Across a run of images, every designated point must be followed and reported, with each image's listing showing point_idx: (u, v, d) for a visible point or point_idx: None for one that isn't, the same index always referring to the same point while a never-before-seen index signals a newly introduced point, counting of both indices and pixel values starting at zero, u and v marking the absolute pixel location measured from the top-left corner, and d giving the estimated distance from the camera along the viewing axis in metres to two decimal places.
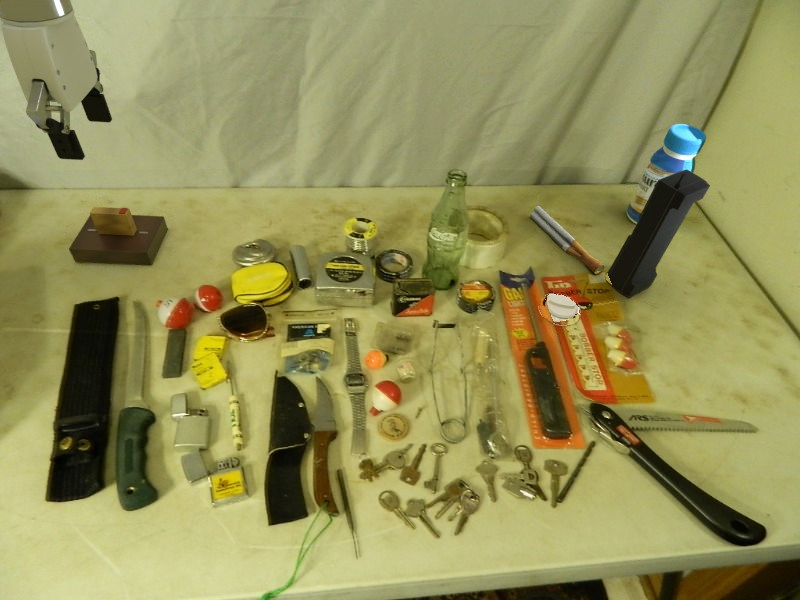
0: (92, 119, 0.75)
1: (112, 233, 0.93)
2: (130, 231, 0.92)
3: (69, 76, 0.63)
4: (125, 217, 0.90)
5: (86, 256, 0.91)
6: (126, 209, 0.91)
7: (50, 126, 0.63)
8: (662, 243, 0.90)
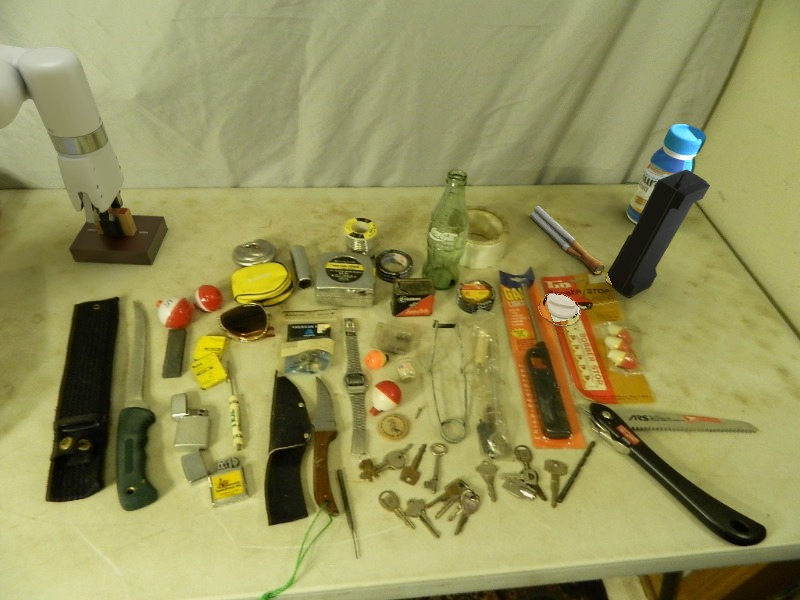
0: None
1: None
2: (130, 231, 0.92)
3: (105, 187, 0.84)
4: (125, 217, 0.90)
5: (86, 256, 0.91)
6: (126, 209, 0.91)
7: (103, 219, 0.87)
8: (662, 243, 0.90)
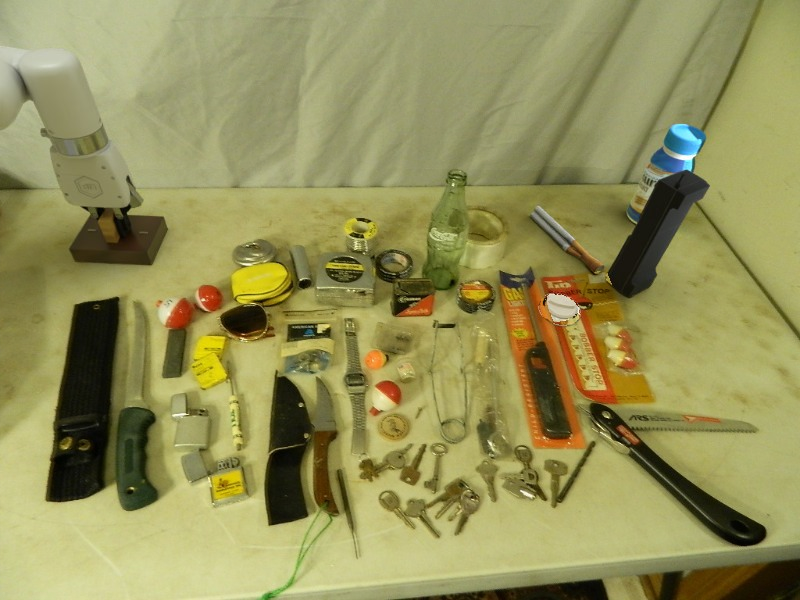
0: None
1: None
2: None
3: None
4: None
5: (86, 256, 0.91)
6: None
7: None
8: (662, 243, 0.90)
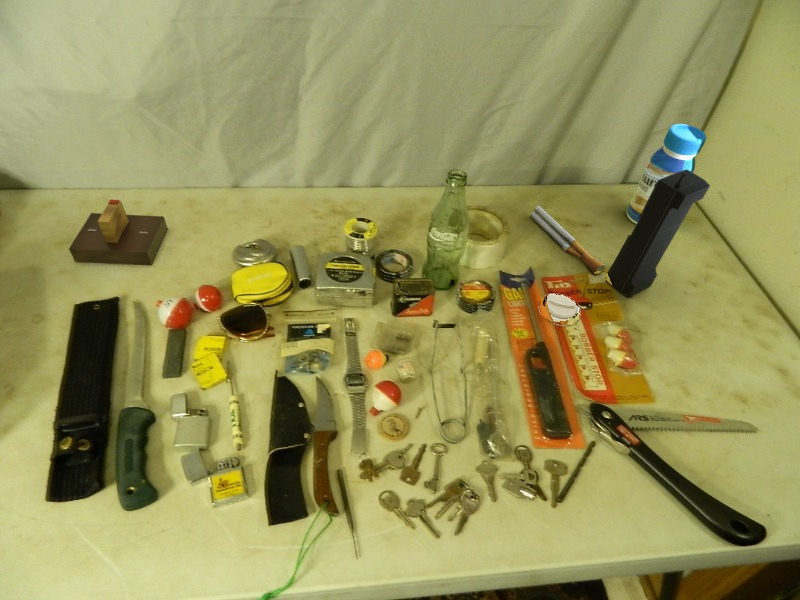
0: None
1: (121, 232, 0.93)
2: (126, 218, 0.95)
3: None
4: (121, 203, 0.93)
5: (86, 256, 0.91)
6: (112, 200, 0.92)
7: None
8: (662, 243, 0.90)
